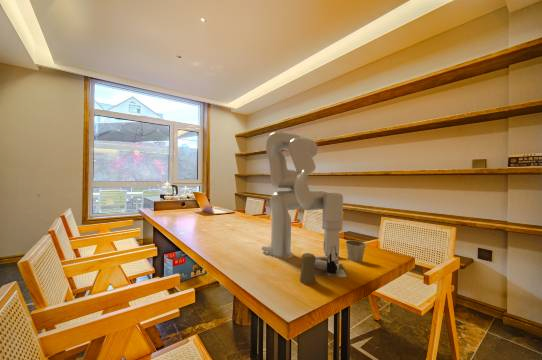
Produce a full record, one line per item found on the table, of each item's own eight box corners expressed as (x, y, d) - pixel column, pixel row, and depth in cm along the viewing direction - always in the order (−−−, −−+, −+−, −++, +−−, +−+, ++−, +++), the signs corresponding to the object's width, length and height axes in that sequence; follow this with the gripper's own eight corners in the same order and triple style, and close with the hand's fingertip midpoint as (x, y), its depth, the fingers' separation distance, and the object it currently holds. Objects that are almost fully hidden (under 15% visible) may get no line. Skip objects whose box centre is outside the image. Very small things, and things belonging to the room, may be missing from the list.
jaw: (302, 265, 99) (302, 256, 99) (304, 263, 101) (305, 254, 101) (336, 274, 91) (337, 264, 91) (338, 271, 93) (339, 262, 93)
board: (303, 277, 91) (303, 266, 91) (302, 263, 105) (302, 254, 105) (348, 280, 89) (348, 269, 89) (341, 266, 103) (342, 257, 103)
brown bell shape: (297, 280, 88) (298, 251, 87) (313, 280, 88) (314, 251, 88) (301, 288, 82) (302, 257, 81) (318, 288, 82) (319, 257, 82)
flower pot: (367, 266, 104) (368, 246, 104) (345, 264, 106) (346, 245, 106) (363, 259, 114) (364, 241, 113) (343, 257, 115) (344, 239, 115)
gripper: (320, 221, 98) (319, 264, 98) (324, 228, 84) (322, 280, 84) (339, 221, 97) (338, 266, 97) (345, 229, 83) (344, 281, 83)
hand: (331, 272), depth 91 cm, fingers closed
